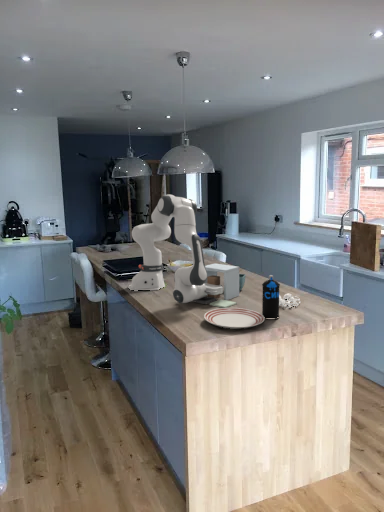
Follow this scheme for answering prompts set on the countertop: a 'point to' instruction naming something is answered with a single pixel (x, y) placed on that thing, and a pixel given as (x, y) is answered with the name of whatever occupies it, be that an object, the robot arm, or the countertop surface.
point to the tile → (223, 303)
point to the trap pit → (205, 300)
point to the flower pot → (241, 281)
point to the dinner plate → (234, 318)
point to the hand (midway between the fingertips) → (214, 285)
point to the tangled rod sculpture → (287, 296)
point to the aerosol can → (270, 298)
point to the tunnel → (226, 278)
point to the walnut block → (215, 281)
